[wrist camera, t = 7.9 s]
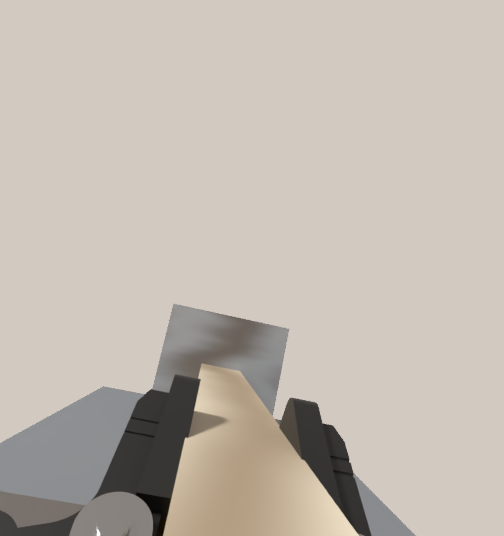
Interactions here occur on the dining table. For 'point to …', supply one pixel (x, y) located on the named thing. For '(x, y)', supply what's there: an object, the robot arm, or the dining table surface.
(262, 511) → the tan and grey block
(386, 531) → the tall grey box
